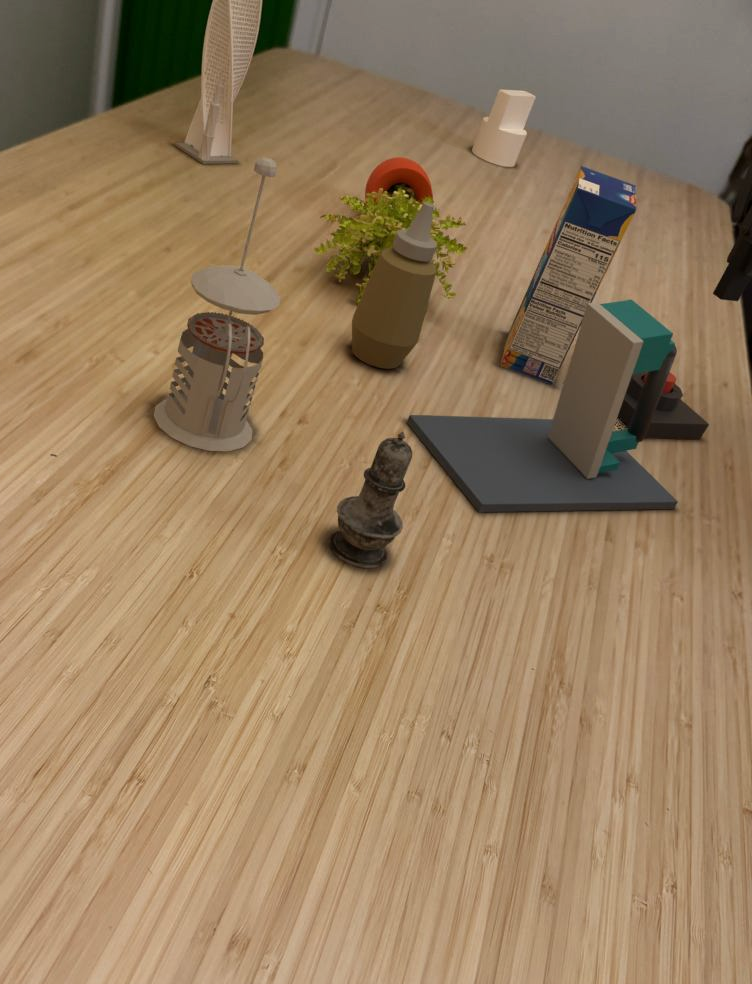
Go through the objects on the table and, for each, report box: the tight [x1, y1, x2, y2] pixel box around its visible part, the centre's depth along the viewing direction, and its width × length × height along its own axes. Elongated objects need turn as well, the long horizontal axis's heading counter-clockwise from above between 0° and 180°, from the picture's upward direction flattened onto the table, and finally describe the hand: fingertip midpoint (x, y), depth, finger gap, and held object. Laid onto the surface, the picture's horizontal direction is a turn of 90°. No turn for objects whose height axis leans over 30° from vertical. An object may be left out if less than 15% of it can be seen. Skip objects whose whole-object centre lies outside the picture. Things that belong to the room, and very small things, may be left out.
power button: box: [642, 371, 678, 393], centre depth 127 cm, size 4×4×2 cm
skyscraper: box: [174, 0, 263, 165], centre depth 153 cm, size 8×8×28 cm
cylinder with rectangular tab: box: [471, 89, 537, 168], centre depth 202 cm, size 9×9×12 cm
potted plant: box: [313, 156, 468, 305], centre depth 143 cm, size 19×14×45 cm
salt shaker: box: [328, 431, 413, 569], centre depth 87 cm, size 6×6×12 cm
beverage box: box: [500, 165, 637, 386], centre depth 126 cm, size 7×11×22 cm, turn 164°
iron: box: [548, 299, 678, 479], centre depth 108 cm, size 16×8×10 cm
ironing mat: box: [406, 414, 679, 513], centre depth 112 cm, size 16×26×1 cm, turn 112°
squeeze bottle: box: [351, 202, 437, 370], centre depth 116 cm, size 8×8×18 cm
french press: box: [153, 156, 281, 452], centre depth 92 cm, size 10×12×25 cm
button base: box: [617, 372, 710, 440], centre depth 129 cm, size 12×10×4 cm
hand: (725, 297), depth 118 cm, fingers closed
